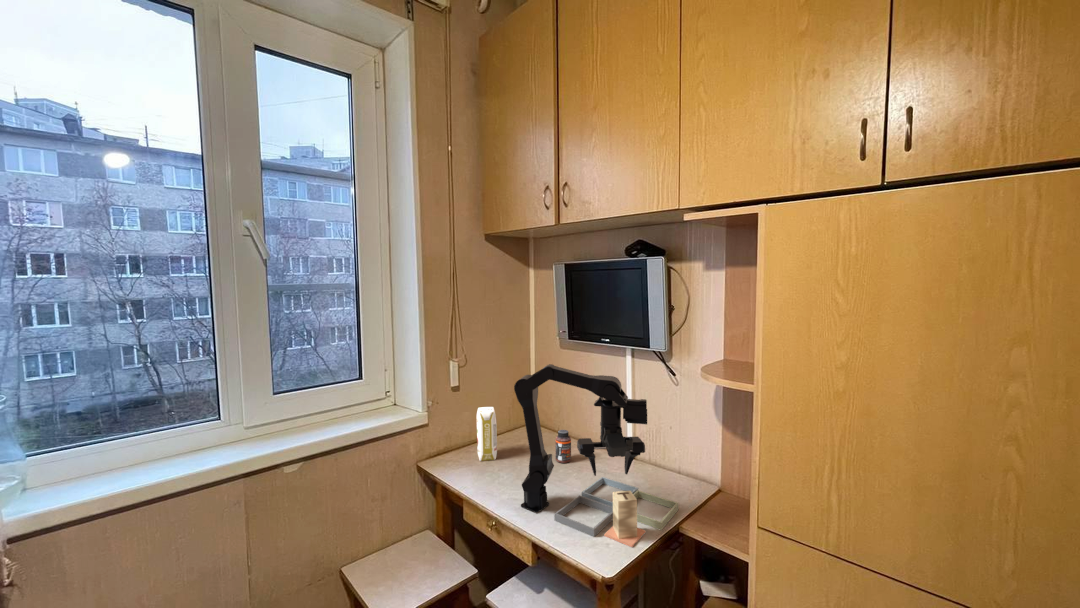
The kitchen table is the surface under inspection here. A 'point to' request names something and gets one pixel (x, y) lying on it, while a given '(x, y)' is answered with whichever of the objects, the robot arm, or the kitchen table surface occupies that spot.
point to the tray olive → (657, 500)
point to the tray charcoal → (579, 526)
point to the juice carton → (486, 433)
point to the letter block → (624, 514)
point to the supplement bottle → (563, 447)
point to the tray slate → (611, 483)
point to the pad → (626, 541)
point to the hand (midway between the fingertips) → (610, 474)
